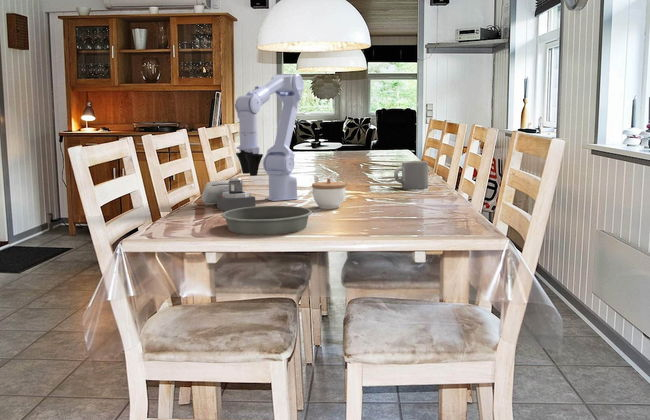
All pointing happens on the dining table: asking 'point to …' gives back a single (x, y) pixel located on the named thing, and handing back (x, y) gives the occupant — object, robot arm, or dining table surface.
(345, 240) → the dining table surface
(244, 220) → the cake pan
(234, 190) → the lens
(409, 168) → the coffee mug
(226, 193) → the octagonal frame panel
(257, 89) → the robot arm
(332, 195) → the lidded jar
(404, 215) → the dining table surface
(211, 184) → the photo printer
